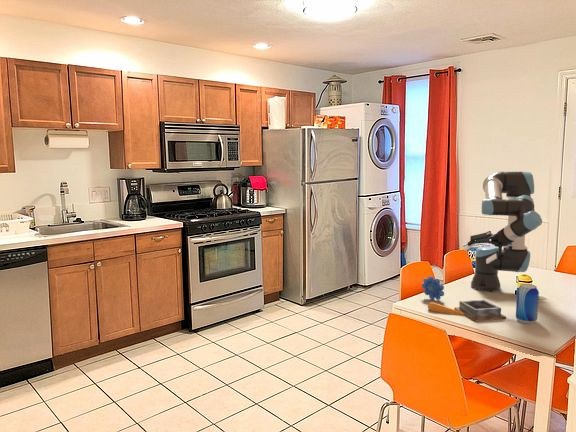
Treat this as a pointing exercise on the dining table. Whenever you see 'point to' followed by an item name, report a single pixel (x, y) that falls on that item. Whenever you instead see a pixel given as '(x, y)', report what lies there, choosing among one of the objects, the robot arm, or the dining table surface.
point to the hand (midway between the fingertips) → (475, 255)
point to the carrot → (442, 309)
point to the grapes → (433, 288)
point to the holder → (480, 310)
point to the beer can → (527, 303)
